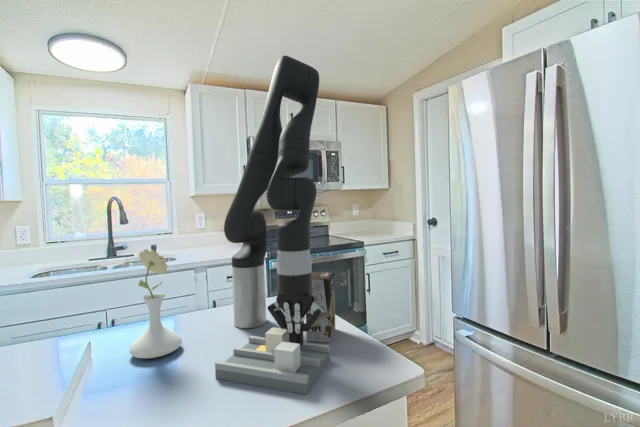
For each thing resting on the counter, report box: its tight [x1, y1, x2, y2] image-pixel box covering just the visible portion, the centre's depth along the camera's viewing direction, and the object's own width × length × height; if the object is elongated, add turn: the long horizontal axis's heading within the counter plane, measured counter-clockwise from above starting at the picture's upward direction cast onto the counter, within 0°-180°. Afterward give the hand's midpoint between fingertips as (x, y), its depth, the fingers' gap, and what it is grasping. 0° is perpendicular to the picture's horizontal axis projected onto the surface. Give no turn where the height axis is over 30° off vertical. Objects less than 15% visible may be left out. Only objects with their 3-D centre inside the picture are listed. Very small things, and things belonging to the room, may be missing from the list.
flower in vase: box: [129, 248, 183, 359], centre depth 81 cm, size 13×11×25 cm
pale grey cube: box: [274, 342, 301, 373], centre depth 67 cm, size 4×4×4 cm
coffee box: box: [305, 271, 336, 343], centre depth 88 cm, size 9×6×16 cm
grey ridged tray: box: [214, 335, 331, 396], centre depth 72 cm, size 20×14×3 cm
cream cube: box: [264, 326, 289, 353], centre depth 75 cm, size 4×4×4 cm
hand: (296, 348), depth 74 cm, fingers closed
